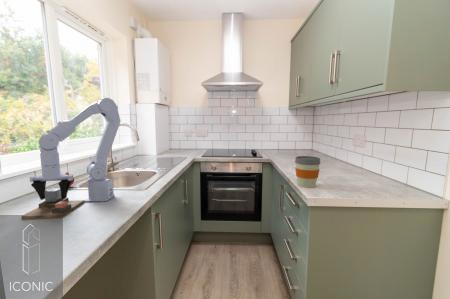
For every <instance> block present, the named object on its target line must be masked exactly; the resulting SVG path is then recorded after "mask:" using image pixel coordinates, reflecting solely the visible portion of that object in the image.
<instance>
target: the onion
mask: <svg viewBox="0 0 450 299" xmlns="http://www.w3.org/2000/svg"><path fill="white" fill-rule="evenodd" d="M63 175H71V174H70V173H69V171H67V172H66V173H65V174H63ZM74 182H75V178H74V176H73V180H72V182H71V184H70V186H69V188H70V187H71V186H72V185H73V184H74Z"/></svg>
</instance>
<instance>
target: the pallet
mask: <svg viewBox="0 0 450 299" xmlns="http://www.w3.org/2000/svg"><path fill="white" fill-rule="evenodd" d="M85 200H86V199H85ZM85 200H84V199H83V200H81V199H80V200H69V197H66V198H65V199H63V200H61V201H67V206H66V207H64V208H56V207H55V204H56V203H45V200H44V201H42V202H40V203H38V207H37V208H35V209H32V210H30V211H28V212H26V213H24V214H23V215H21V217H20V218H21V220H26V219H29V220H30V219H32V220H33V219H52V218H53V219H54V218H55V219H57V218H59V219H60V218H64V217H65V216H67V215H68V214H70V213H71V212H73V211H74V210H76V209H77V208H79V207H80V206H82V205H83V204H85V203H86V202H85Z"/></svg>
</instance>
